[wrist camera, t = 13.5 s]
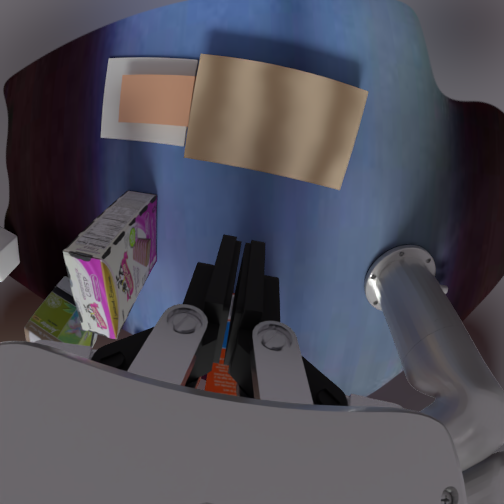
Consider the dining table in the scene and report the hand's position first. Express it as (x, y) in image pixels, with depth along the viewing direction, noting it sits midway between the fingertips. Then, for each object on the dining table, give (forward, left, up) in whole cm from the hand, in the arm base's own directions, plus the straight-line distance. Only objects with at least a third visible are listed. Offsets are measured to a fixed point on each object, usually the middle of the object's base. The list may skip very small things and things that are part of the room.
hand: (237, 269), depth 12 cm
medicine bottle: (+47, +24, -25) cm, 59 cm away
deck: (-1, -4, -25) cm, 25 cm away
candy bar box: (+14, +14, -25) cm, 32 cm away
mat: (+15, -4, -25) cm, 30 cm away
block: (+13, -4, -25) cm, 28 cm away
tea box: (+29, +36, -25) cm, 53 cm away
